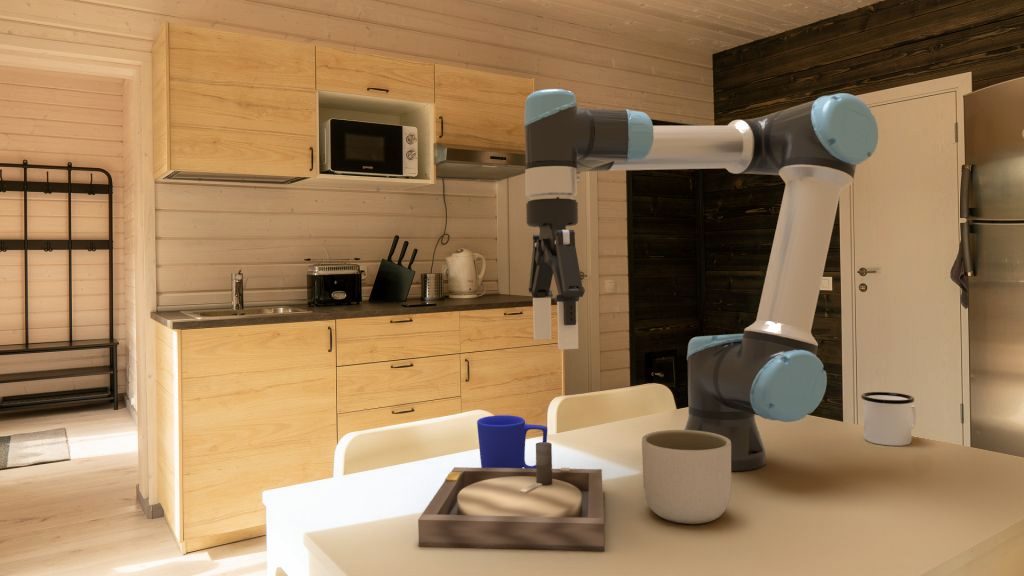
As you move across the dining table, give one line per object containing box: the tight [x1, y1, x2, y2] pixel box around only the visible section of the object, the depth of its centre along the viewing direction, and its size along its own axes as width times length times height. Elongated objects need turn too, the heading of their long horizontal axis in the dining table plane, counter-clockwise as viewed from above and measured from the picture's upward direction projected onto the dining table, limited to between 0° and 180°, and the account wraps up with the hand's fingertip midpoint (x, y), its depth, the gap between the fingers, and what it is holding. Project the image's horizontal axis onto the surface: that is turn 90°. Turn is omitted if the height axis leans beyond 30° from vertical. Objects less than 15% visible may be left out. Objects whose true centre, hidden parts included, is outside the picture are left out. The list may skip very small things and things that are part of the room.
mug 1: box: [476, 414, 548, 468], centre depth 121 cm, size 8×12×10 cm
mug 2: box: [860, 391, 917, 447], centre depth 141 cm, size 12×10×9 cm
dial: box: [457, 441, 582, 518], centre depth 103 cm, size 18×18×8 cm
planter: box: [641, 429, 732, 525], centre depth 102 cm, size 12×12×11 cm
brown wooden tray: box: [417, 466, 605, 552], centre depth 103 cm, size 24×24×4 cm
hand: (554, 344), depth 104 cm, fingers open, 13 cm apart
